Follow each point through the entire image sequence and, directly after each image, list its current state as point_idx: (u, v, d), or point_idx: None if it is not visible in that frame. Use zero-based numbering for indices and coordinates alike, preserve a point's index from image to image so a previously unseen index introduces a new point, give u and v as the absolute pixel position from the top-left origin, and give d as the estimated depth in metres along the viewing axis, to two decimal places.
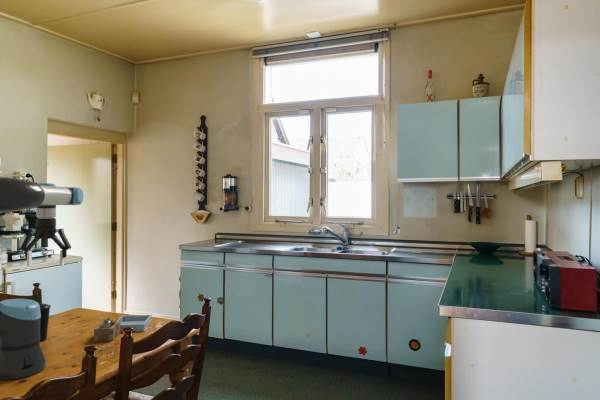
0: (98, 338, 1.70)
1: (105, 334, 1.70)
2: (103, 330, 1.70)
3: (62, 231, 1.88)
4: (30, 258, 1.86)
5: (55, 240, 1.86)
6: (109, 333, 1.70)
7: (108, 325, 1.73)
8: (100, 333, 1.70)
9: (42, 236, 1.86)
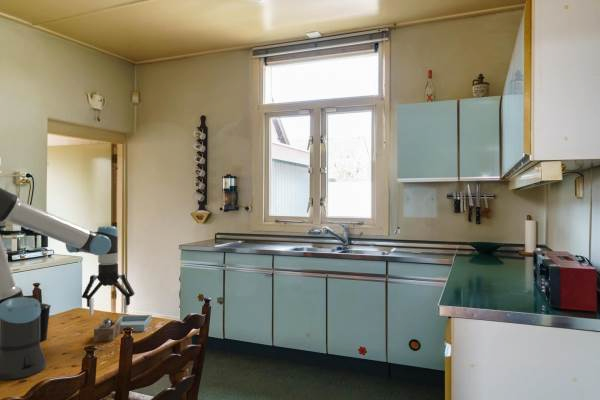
0: (98, 338, 1.70)
1: (105, 334, 1.70)
2: (103, 330, 1.70)
3: (125, 277, 1.77)
4: (92, 306, 1.74)
5: (118, 287, 1.75)
6: (109, 333, 1.70)
7: (108, 325, 1.73)
8: (100, 333, 1.70)
9: (105, 283, 1.74)
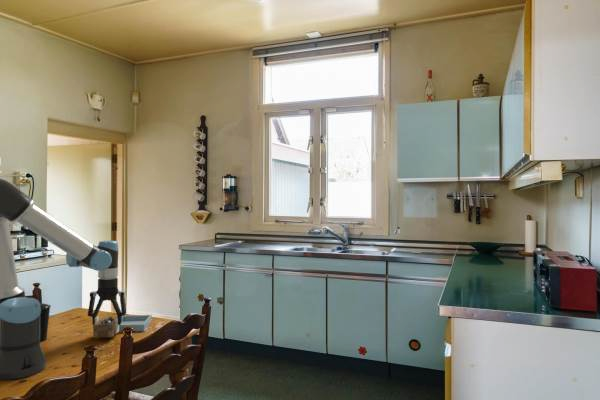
0: (97, 334, 1.69)
1: (104, 330, 1.70)
2: (102, 326, 1.70)
3: (124, 295, 1.76)
4: None
5: (114, 304, 1.74)
6: (108, 329, 1.70)
7: None
8: (99, 329, 1.69)
9: (104, 298, 1.74)
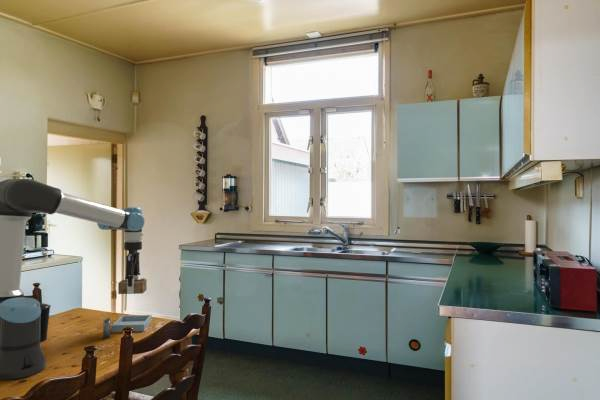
0: None
1: None
2: None
3: (130, 259, 1.83)
4: None
5: None
6: None
7: (108, 325, 1.73)
8: None
9: None
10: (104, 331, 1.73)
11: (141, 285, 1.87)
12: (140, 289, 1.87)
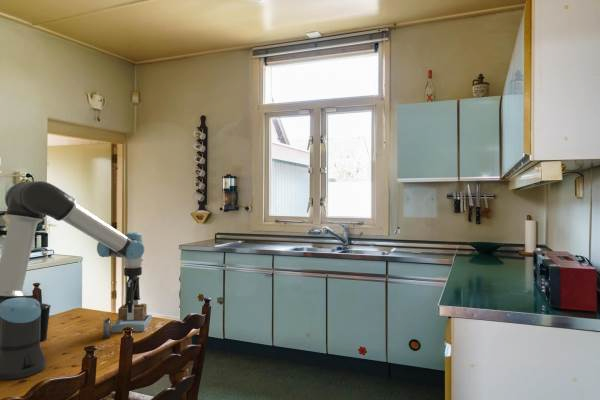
0: None
1: None
2: None
3: (130, 286, 1.83)
4: None
5: None
6: None
7: (108, 325, 1.73)
8: None
9: None
10: (104, 331, 1.73)
11: (141, 311, 1.87)
12: (140, 315, 1.87)
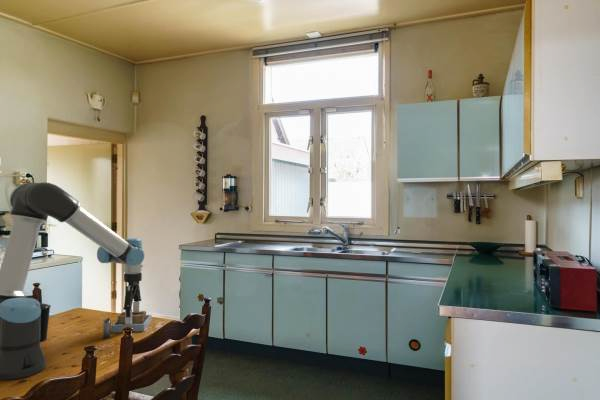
0: None
1: None
2: None
3: (129, 289, 1.83)
4: (136, 309, 1.96)
5: None
6: None
7: (108, 325, 1.73)
8: None
9: None
10: (104, 331, 1.73)
11: (141, 318, 1.87)
12: (140, 322, 1.87)
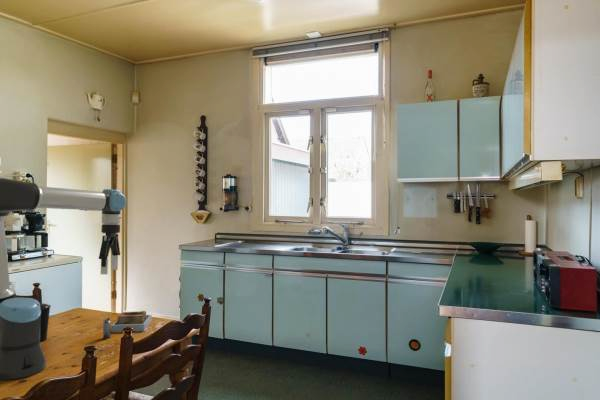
0: None
1: None
2: None
3: (106, 239, 1.79)
4: (114, 263, 1.92)
5: None
6: None
7: (108, 325, 1.73)
8: None
9: None
10: (104, 331, 1.73)
11: (141, 318, 1.87)
12: (140, 322, 1.87)
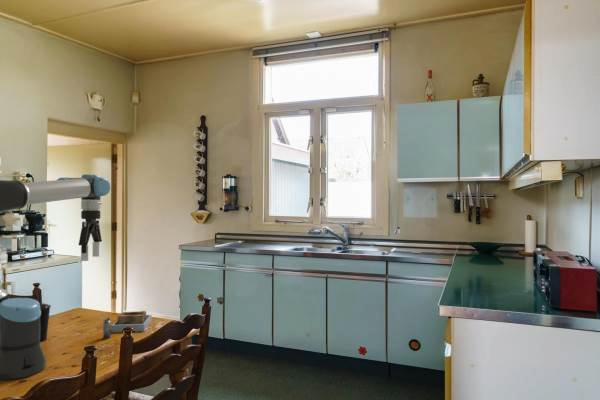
0: None
1: None
2: None
3: (86, 225, 1.76)
4: (95, 249, 1.89)
5: None
6: None
7: (108, 325, 1.73)
8: None
9: None
10: (104, 331, 1.73)
11: (141, 318, 1.87)
12: (140, 322, 1.87)
